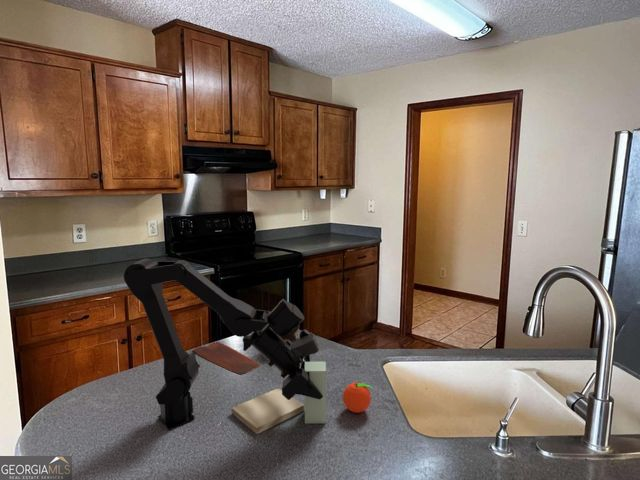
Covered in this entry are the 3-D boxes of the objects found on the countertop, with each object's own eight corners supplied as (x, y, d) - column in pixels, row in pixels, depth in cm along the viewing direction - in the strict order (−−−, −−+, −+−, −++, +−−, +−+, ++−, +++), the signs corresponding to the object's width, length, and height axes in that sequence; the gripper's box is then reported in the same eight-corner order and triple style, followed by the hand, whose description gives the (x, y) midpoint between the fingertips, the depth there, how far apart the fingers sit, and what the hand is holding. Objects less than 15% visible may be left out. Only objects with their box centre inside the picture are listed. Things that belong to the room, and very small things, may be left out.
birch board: (257, 434, 91) (257, 428, 91) (232, 413, 99) (231, 407, 99) (304, 410, 101) (304, 404, 100) (278, 393, 109) (277, 388, 109)
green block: (304, 423, 95) (304, 371, 93) (305, 411, 100) (304, 361, 98) (326, 423, 95) (326, 371, 94) (325, 411, 100) (325, 361, 99)
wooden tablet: (190, 352, 136) (190, 348, 136) (216, 343, 143) (216, 339, 143) (237, 378, 118) (237, 373, 118) (264, 367, 125) (264, 361, 125)
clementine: (370, 401, 105) (370, 375, 104) (378, 416, 98) (379, 389, 97) (340, 404, 104) (340, 377, 103) (346, 419, 97) (346, 392, 96)
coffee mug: (285, 355, 132) (285, 325, 131) (270, 347, 139) (269, 319, 137) (312, 345, 140) (312, 317, 139) (296, 338, 147) (296, 311, 145)
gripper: (296, 340, 85) (348, 389, 87) (299, 311, 103) (342, 352, 105) (260, 376, 86) (312, 423, 88) (269, 341, 104) (312, 381, 106)
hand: (321, 391), depth 97 cm, fingers closed on green block, 5 cm apart
